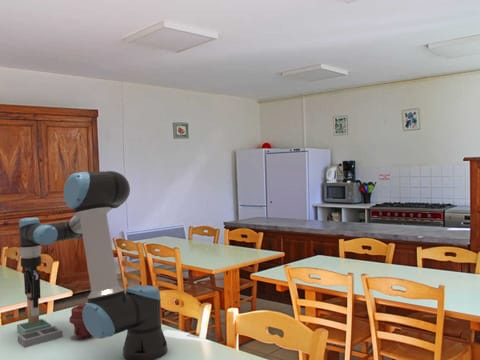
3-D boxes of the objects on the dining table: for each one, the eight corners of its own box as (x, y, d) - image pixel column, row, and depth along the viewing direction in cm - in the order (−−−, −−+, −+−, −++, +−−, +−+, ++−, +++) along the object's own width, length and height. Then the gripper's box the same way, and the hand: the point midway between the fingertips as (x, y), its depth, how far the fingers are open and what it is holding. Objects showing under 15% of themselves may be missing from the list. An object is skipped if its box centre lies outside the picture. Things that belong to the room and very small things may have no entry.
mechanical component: (102, 332, 179) (89, 342, 169) (79, 331, 181) (65, 341, 171) (101, 301, 178) (87, 309, 169) (78, 301, 180) (63, 308, 171)
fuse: (40, 322, 182) (39, 293, 181) (30, 325, 179) (28, 295, 179) (37, 320, 185) (36, 291, 185) (26, 322, 182) (25, 293, 182)
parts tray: (51, 331, 182) (51, 324, 182) (25, 338, 175) (24, 330, 175) (42, 325, 189) (42, 318, 189) (17, 332, 182) (17, 324, 182)
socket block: (62, 336, 175) (62, 330, 175) (24, 347, 166) (24, 340, 166) (55, 331, 181) (55, 325, 181) (17, 341, 172) (17, 335, 172)
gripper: (47, 257, 177) (50, 316, 178) (33, 252, 190) (36, 307, 191) (27, 260, 172) (30, 321, 173) (14, 255, 185) (17, 311, 186)
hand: (33, 313), depth 182 cm, fingers closed on fuse, 4 cm apart
